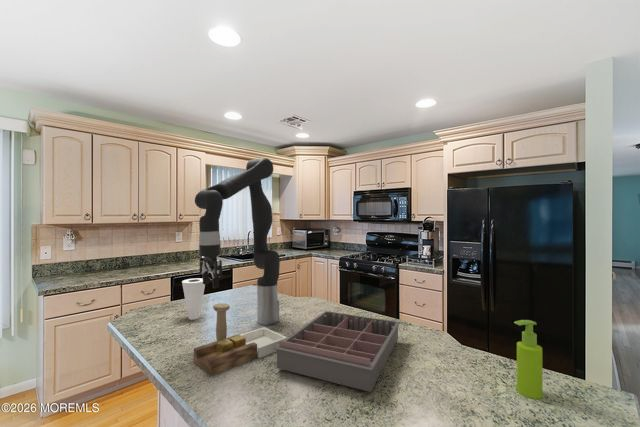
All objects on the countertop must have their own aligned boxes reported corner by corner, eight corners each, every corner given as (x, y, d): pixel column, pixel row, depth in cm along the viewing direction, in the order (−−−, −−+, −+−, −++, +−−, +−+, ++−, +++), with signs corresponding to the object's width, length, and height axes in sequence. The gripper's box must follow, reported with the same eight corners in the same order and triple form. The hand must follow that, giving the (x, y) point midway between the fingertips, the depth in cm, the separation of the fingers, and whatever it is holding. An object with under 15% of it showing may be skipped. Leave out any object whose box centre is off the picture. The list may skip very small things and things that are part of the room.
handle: (222, 349, 112) (222, 308, 112) (210, 345, 115) (210, 305, 115) (232, 344, 116) (232, 305, 116) (220, 340, 119) (220, 302, 119)
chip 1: (227, 350, 106) (227, 338, 106) (232, 353, 103) (232, 342, 104) (216, 354, 103) (216, 342, 103) (222, 357, 101) (222, 345, 101)
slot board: (238, 345, 114) (238, 333, 114) (257, 357, 105) (257, 344, 105) (193, 361, 102) (193, 348, 102) (210, 375, 93) (210, 361, 93)
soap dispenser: (508, 387, 87) (508, 317, 87) (531, 386, 87) (530, 317, 87) (523, 399, 81) (523, 325, 81) (548, 398, 82) (547, 324, 82)
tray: (264, 335, 124) (264, 327, 124) (287, 346, 114) (287, 337, 114) (236, 345, 115) (236, 335, 115) (259, 358, 105) (259, 348, 105)
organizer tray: (400, 342, 118) (400, 316, 118) (372, 399, 82) (372, 362, 82) (325, 329, 131) (325, 306, 131) (273, 373, 95) (273, 341, 95)
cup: (210, 316, 147) (210, 279, 147) (190, 323, 138) (190, 284, 138) (196, 313, 152) (196, 277, 152) (177, 319, 143) (177, 281, 143)
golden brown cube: (239, 345, 110) (239, 334, 110) (245, 349, 107) (245, 338, 107) (229, 349, 107) (229, 338, 107) (235, 352, 104) (235, 341, 104)
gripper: (228, 243, 112) (229, 287, 112) (211, 241, 122) (212, 281, 122) (208, 245, 106) (209, 291, 107) (192, 242, 117) (193, 284, 117)
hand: (210, 285), depth 115 cm, fingers open, 8 cm apart
